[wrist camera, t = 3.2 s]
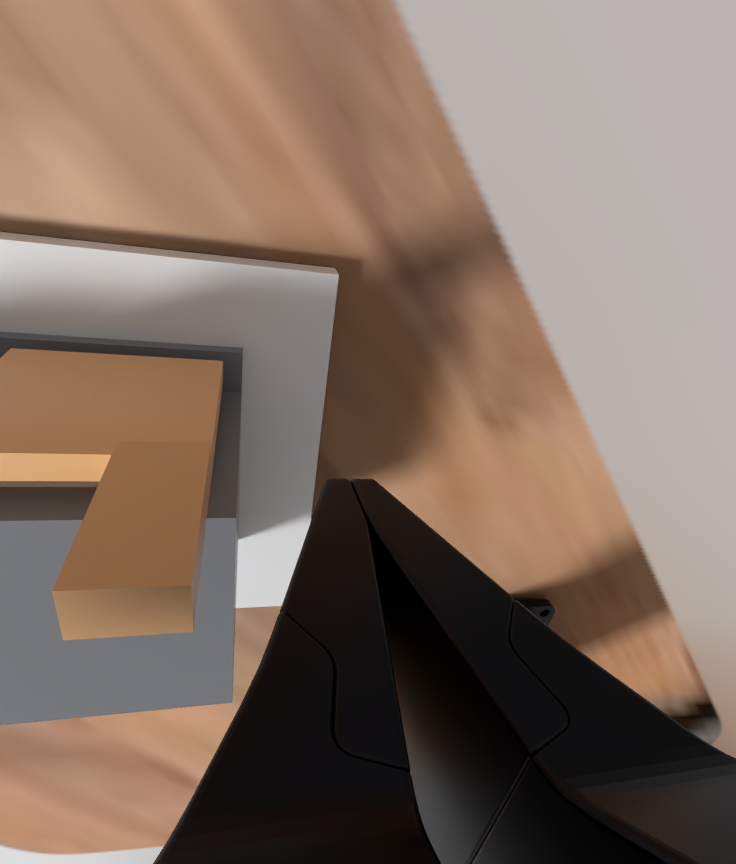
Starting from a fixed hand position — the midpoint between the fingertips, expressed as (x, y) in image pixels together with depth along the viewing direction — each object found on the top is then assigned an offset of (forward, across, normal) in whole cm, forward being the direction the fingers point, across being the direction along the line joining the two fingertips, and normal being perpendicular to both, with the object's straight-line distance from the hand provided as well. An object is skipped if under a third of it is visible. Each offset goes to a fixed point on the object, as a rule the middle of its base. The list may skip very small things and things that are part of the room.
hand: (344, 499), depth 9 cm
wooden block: (+6, +5, 0) cm, 8 cm away
